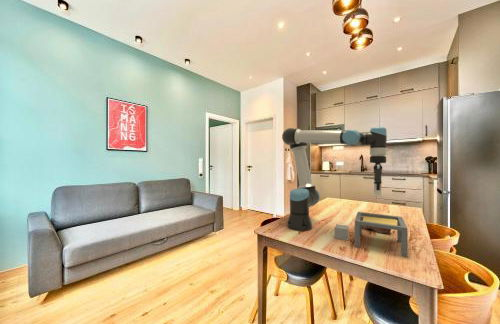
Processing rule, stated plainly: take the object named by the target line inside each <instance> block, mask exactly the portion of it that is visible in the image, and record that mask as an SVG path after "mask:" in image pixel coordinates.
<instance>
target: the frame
mask: <svg viewBox="0 0 500 324" xmlns="http://www.w3.org/2000/svg"><path fill="white" fill-rule="evenodd" d="M362 216H368V217H376V218H386V219H395V220H396V223H397V226H396V225H389V224H382V223H375V222H367V221H362ZM362 225H365V226H372V227H379V228H385V229H391V231H392V230H393V231H397V232H396V238H397V240H396V241H397V242H398V243H400V255H401V257H405V258H409V257H408V248H409V247H408V240H409V239H408V236H409V235H408V234H409V233H408V231H409V229H408V227H407V224H406V222H405V220H404V217H403V216H398V215H395V216H394V215H390V214H388V215H387V214H381V213H373V212H362V211H357V212H356V216H355V218H354V247H356V248H359V249H360V248H361V247H360V246H361V236H362V235H363V227H362Z"/></svg>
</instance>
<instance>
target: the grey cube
mask: <svg viewBox="0 0 500 324" xmlns="http://www.w3.org/2000/svg"><path fill="white" fill-rule="evenodd" d="M334 239H336V240H341V241H345V242H346V241H348V240H349V226H348V225H344V224H337V223H336V224H335V226H334Z"/></svg>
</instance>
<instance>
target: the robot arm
mask: <svg viewBox="0 0 500 324" xmlns="http://www.w3.org/2000/svg"><path fill="white" fill-rule="evenodd" d="M387 134H388V133H387V128H386V127H385V126H377V127H371V128H370V130H369V131H366V132H365V131H364V132H359V131H358V130H357V129H352V128H351V129H348V130H347V129H346V130H345V129H342V130H341V129H337V130H336V129H333V130H332V129H329V130H328V129H327V130H326V129H324V130H322V129H321V130H320V129H317V130H316V129H315V130H312V129H309V130H307V129H306V130H304V129H303V130H302V129H301V128H294V127H288V128H286V129H285V130H284V131H282V136H281V139H282V141H283V143H284V144H285V145H287V146H289V149H290V151H291V152H292V153H293V157H294V162H295V169H296V172H297V178H298V184H299V185H298V187H297V188H294V189H291V190H290V192H289V216H288V219H287V223H286V224H287V225H286V226H287V228H289V229H291V230H294V231H299V232H301V231H302V232H303V231H309V230H312V229H313V223H312V221H311V216H310V207H314V206H316V204H318V203H319V201H320V196H321V195H320V192H319V191H318V190H317V189H316V185H315V184H314V183H313V180H312V174H311V171H310V165H309V161H308V155H307V151H306V149H307V147H308V144H307V143H309V144H332V145H333V144H334V145H337V144H338V145H347V146H348V147H358V146H359V147H360V146H369V156H370V157H369V163H371V164H374V166H372V167H373V173H374V176H373V177H374V178H373V193H374V197H382V173H383V165H382V164H386V163H387V156H386V155H387V152H388V149H387V136H388V135H387Z"/></svg>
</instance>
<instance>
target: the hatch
mask: <svg viewBox="0 0 500 324" xmlns="http://www.w3.org/2000/svg"><path fill="white" fill-rule="evenodd" d="M363 221H367V222H375V223H382V224H389V225H396V226H397V220H395V219H386V218H376V217H366V216H364V217H363Z"/></svg>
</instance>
